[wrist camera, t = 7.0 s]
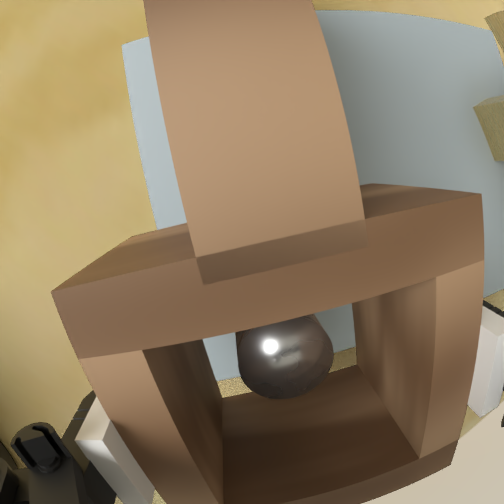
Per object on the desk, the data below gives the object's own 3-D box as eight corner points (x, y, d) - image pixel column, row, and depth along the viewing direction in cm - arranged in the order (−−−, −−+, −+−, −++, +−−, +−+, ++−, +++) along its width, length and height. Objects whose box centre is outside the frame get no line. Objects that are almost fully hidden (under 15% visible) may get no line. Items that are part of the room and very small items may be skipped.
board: (204, 377, 19) (204, 383, 18) (124, 48, 14) (121, 44, 14) (521, 275, 20) (525, 277, 19) (487, 32, 15) (491, 31, 15)
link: (387, 379, 14) (450, 464, 8) (199, 426, 13) (192, 534, 7) (295, -67, 9) (327, -154, 3) (91, -27, 8) (38, -104, 3)
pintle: (237, 310, 18) (249, 407, 10) (224, 260, 17) (227, 331, 9) (289, 298, 18) (337, 385, 10) (279, 247, 18) (328, 307, 9)
